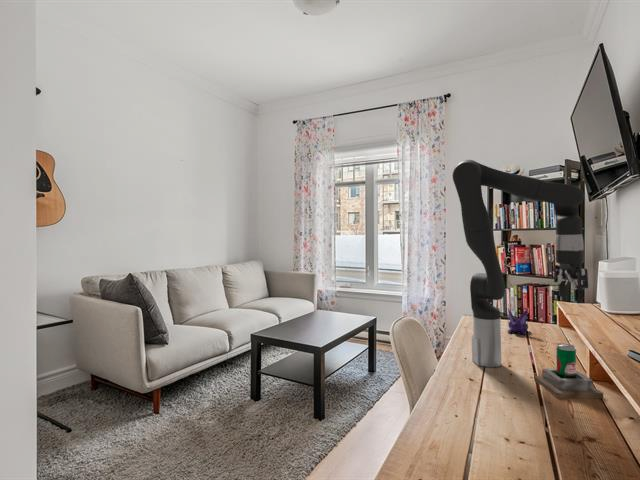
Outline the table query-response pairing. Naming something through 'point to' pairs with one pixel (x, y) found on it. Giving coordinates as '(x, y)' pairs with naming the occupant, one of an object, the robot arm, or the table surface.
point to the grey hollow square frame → (567, 385)
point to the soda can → (566, 361)
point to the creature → (518, 323)
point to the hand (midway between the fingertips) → (570, 298)
